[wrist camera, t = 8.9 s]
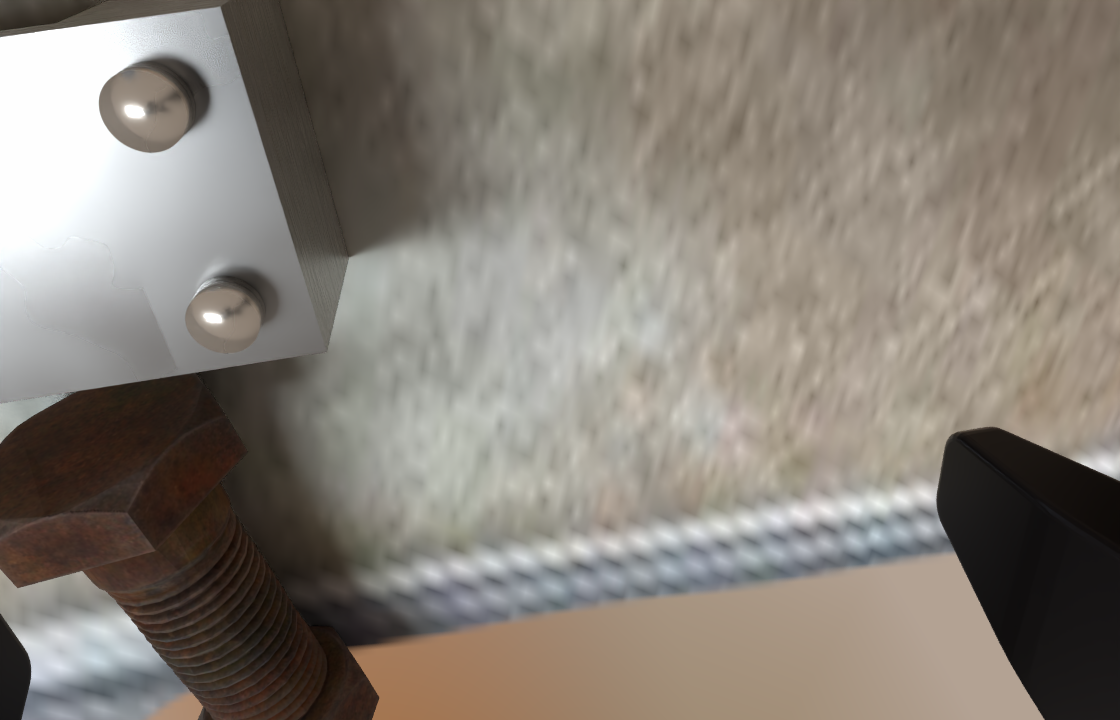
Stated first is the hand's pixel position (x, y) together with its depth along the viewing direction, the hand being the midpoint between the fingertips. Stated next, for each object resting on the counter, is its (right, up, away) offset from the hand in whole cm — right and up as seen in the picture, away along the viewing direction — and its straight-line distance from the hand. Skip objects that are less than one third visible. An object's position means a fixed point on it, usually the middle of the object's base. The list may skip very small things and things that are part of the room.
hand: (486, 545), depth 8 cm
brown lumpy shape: (-8, -5, +16) cm, 19 cm away
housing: (-9, +6, +9) cm, 14 cm away
